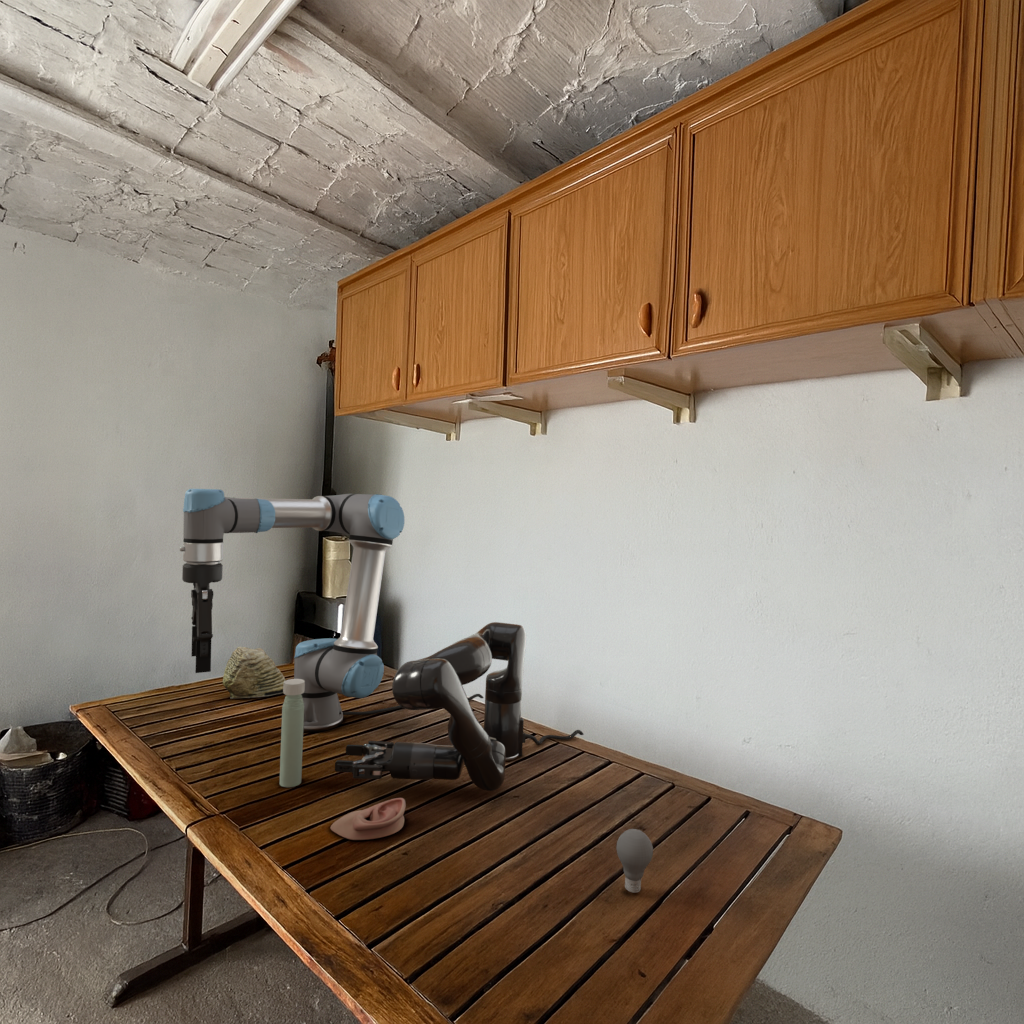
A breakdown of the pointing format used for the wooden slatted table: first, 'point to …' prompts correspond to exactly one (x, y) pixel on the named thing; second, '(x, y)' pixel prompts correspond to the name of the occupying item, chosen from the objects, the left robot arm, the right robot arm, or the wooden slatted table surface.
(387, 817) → the anatomical model
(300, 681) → the cap
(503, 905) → the wooden slatted table surface
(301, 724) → the bottle
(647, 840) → the light bulb
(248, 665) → the fossil
